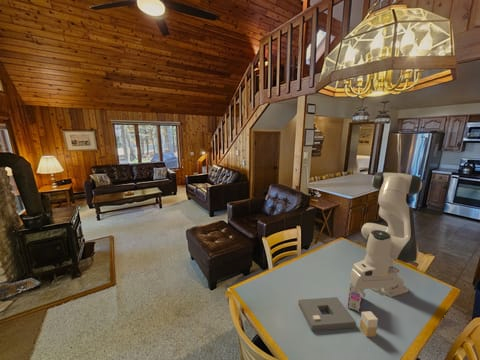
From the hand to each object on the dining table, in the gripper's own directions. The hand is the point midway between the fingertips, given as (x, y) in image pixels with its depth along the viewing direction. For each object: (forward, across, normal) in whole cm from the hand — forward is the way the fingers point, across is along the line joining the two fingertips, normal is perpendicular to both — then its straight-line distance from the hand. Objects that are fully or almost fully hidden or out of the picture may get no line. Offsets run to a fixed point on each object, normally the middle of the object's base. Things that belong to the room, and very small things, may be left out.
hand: (372, 295), depth 91 cm
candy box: (+20, -6, -18) cm, 27 cm away
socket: (+20, +15, -11) cm, 27 cm away
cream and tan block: (+20, 0, 0) cm, 20 cm away
